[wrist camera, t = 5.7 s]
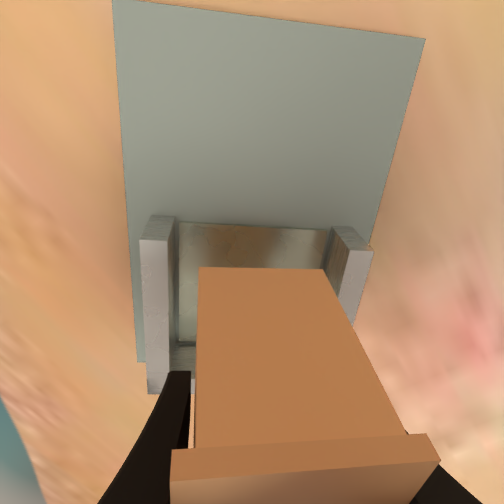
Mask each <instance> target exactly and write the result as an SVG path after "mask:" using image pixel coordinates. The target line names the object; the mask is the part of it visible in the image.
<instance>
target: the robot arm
mask: <svg viewBox="0 0 504 504" xmlns="http://www.w3.org/2000/svg"><path fill="white" fill-rule="evenodd" d="M190 404H191V371H170V372H169V373H168V375H167V378H166V381H165V384H164V386H163V389H162V391H161V394H160V396H159V398H158V400H157V403H156V405H155V407H154V409H153V411H152V413H151V415H150V417H149V419H148V421H147V423H146V425H145V427H144V429H143V430H142V432H141V434H140V436H139V438H138V440H137V441H136V443H135V445H134V446H133V448H132V450H131V452H130V453H129V455H128V457H127V458H126V460H125V462H124V463H123V465H122V467H121V468H120V470H119V472H118V473H117V475H116V476H115V478H114V479H113V481H112V483H111V484H110V486H109V487H108V489H107V490H106V492H105V493H104V495H103V496H102V497H101V499H100V500H99V502H98V503H97V504H170V470H171V456H172V450H175V449H188V440H189V426H190ZM405 431H406V430H405ZM406 433H407V435H409V434H408V432H407V431H406ZM409 504H482V503H481V502H480V501H479V500H478V499H476V498H475V497H474V496H473V495H472V494H471V493H470V492H468V491H467V490H466V489H465V488H464V487H463V486H462V485H461V484H460V483H458V482H457V481H456V480H455V479H454V478H453V477H452V476H451V475H450V474H448V473H447V472H446V471H445V470H444V469H443V468H442V467H441V466H440V465H439V464H438V465H437V467H436V468H435V469H434V471H433V472H432V473H431V475H430V476H429V477H428V479H427V480H426V481H425V483H424V484H423V485H422V487H421V488H420V489H419V491H418V492H417V493H416V495H415V496H414V497H413V499H412V500H411V501H410V503H409Z"/></svg>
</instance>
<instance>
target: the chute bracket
mask: <svg viewBox="0 0 504 504" xmlns="http://www.w3.org/2000/svg"><path fill="white" fill-rule="evenodd" d="M326 236H327V229H314V228H296V227H279V226H262V225H244V224H227V223H209V222H192V221H179V341H175V216H163V215H151V216H150V218H149V220H148V222H147V224H146V227H145V229H144V231H143V233H142V235H141V237H140V239H139V245H140V263H141V281H142V299H143V317H144V335H145V353H146V371H147V389H148V394H161V391H162V389H163V386H164V384H165V381H166V378H167V375H168V373H169V372H170V371H191V394H195V367H196V342H187V341H196V334H197V302H198V270H199V267H229V268H281V269H319V268H320V264H321V259H322V255H323V250H324V245H325V241H326ZM373 254H374V251H373V250H372V248H371V247H370V246H369V245H368V244H367V243H366V242H365V240H364V239H363V238H362V237H361V236H360V235H359V234H358V232H357V231H356V230H355V229H354V228H353V227H349V226H332V225H331V230H330V234H329V239H328V243H327V248H326V252H325V257H324V262H323V266H322V269H323V271H324V273H325V274H326V276H327V278H328V280H329V282H330V284H331V286H332V288H333V290H334V292H335V294H336V296H337V298H338V300H339V302H340V304H341V306H342V308H343V310H344V312H345V314H346V316H347V318H348V319H349V321H350V323H351V325H352V326H353V323H354V320H355V316H356V313H357V309H358V306H359V302H360V299H361V296H362V292H363V289H364V285H365V282H366V278H367V275H368V271H369V268H370V265H371V261H372V258H373Z"/></svg>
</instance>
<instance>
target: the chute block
mask: <svg viewBox="0 0 504 504" xmlns="http://www.w3.org/2000/svg"><path fill="white" fill-rule="evenodd" d="M440 461H441V459H440V457H439V455H438V454H437V452H436V450H435V448H434V446H433V445H432V443H431V441H430V439H429V437H428V436H427V434H426V433H425V434H409V435H407V433H406V431H405V429H404V427H403V425H402V423H401V421H400V419H399V417H398V415H397V413H396V412H395V410H394V408H393V406H392V404H391V402H390V400H389V398H388V396H387V394H386V392H385V390H384V388H383V386H382V384H381V382H380V380H379V378H378V376H377V374H376V372H375V370H374V368H373V366H372V365H371V363H370V361H369V359H368V357H367V355H366V353H365V351H364V349H363V347H362V345H361V343H360V341H359V339H358V337H357V335H356V333H355V331H354V329H353V327H352V325H351V323H350V321H349V319H348V318H347V316H346V314H345V312H344V310H343V308H342V306H341V304H340V302H339V300H338V298H337V296H336V294H335V292H334V290H333V288H332V286H331V284H330V282H329V280H328V278H327V276H326V274H325V273H324V271H323V269H281V268H229V267H199V270H198V302H197V334H196V367H195V402H194V448H191V449H175V450H172V456H171V470H170V504H409V503H410V501H411V500H412V499H413V497H414V496H415V495H416V493H417V492H418V491H419V489H420V488H421V487H422V485H423V484H424V483H425V481H426V480H427V479H428V477H429V476H430V475H431V473H432V472H433V471H434V469H435V468H436V467H437V465H438V464H439V463H440Z"/></svg>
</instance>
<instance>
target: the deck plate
mask: <svg viewBox="0 0 504 504" xmlns="http://www.w3.org/2000/svg"><path fill="white" fill-rule="evenodd" d="M112 10H113V24H114V38H115V53H116V67H117V81H118V95H119V109H120V123H121V137H122V152H123V166H124V180H125V194H126V208H127V222H128V236H129V250H130V265H131V279H132V293H133V307H134V321H135V335H136V349H137V362H146V353H145V335H144V317H143V299H142V281H141V263H140V245H139V239H140V237H141V235H142V233H143V231H144V229H145V227H146V224H147V222H148V220H149V218H150V216H151V215H163V216H175V341H179V221H192V222H209V223H227V224H244V225H262V226H279V227H296V228H314V229H327V236H326V241H325V245H324V250H323V255H322V259H321V264H320V268H319V269H322V266H323V262H324V257H325V252H326V248H327V243H328V239H329V234H330V230H331V225H332V226H349V227H353V228H354V229H355V230H356V231H357V232H358V234H359V235H360V236H361V237H362V238H363V239H364V240H365V242H366V243H367V244H369V241H370V237H371V233H372V230H373V226H374V223H375V219H376V216H377V212H378V208H379V205H380V201H381V198H382V194H383V190H384V187H385V183H386V180H387V176H388V173H389V169H390V165H391V162H392V158H393V155H394V151H395V148H396V144H397V140H398V137H399V133H400V130H401V126H402V122H403V119H404V115H405V112H406V108H407V105H408V101H409V97H410V94H411V90H412V87H413V83H414V79H415V76H416V72H417V69H418V65H419V62H420V58H421V54H422V51H423V47H424V44H425V40H426V39H424V38H416V37H408V36H401V35H393V34H386V33H378V32H371V31H363V30H356V29H348V28H341V27H333V26H325V25H318V24H310V23H303V22H295V21H288V20H280V19H273V18H265V17H258V16H250V15H242V14H235V13H227V12H220V11H212V10H205V9H197V8H190V7H182V6H175V5H167V4H159V3H152V2H144V1H137V0H112ZM187 342H196V341H187Z"/></svg>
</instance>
